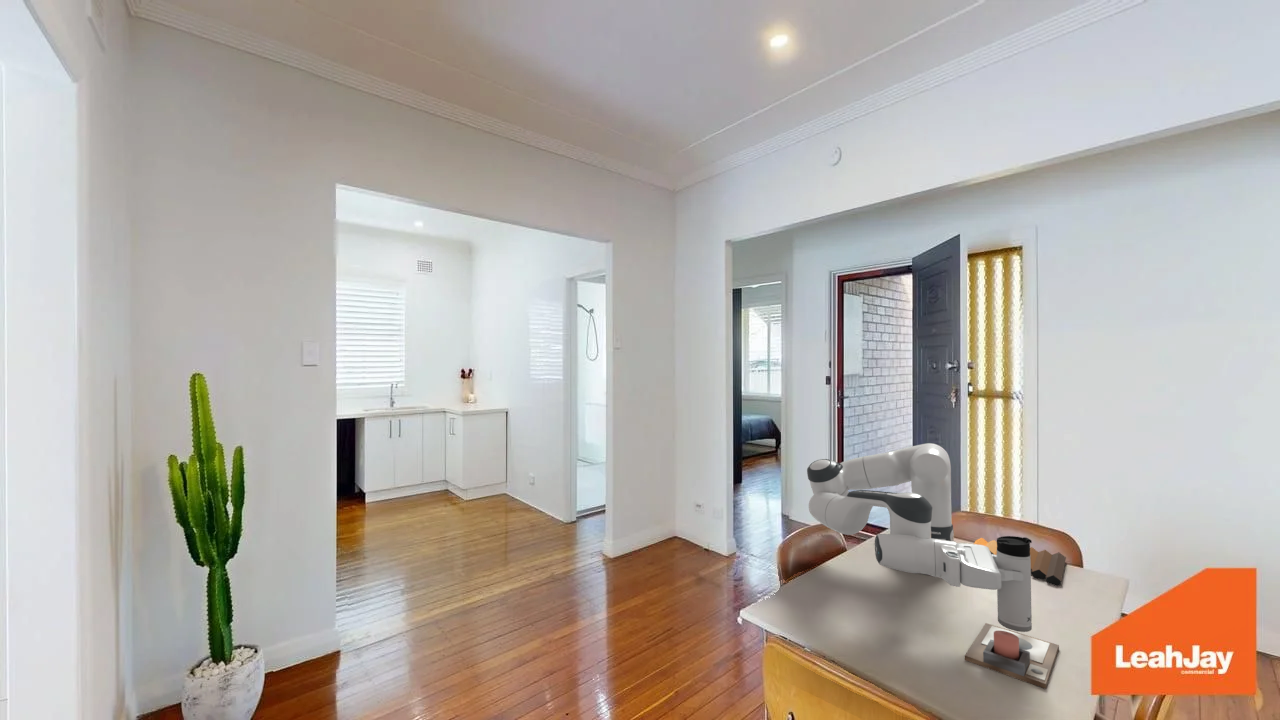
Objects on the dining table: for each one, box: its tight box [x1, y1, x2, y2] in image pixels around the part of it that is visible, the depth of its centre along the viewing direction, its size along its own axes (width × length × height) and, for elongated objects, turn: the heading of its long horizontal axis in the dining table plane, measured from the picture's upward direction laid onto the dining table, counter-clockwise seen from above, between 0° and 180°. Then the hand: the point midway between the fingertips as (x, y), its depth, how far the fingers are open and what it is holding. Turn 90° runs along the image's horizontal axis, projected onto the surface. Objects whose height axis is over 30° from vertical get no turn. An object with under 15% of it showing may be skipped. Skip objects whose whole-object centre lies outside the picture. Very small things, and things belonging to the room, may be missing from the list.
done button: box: [994, 631, 1019, 660], centre depth 107 cm, size 4×4×4 cm
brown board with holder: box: [964, 622, 1060, 690], centre depth 112 cm, size 14×20×3 cm
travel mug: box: [996, 535, 1033, 633], centre depth 115 cm, size 6×7×20 cm
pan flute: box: [973, 537, 1067, 587], centre depth 164 cm, size 25×3×25 cm
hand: (1019, 570), depth 114 cm, fingers closed on travel mug, 6 cm apart
